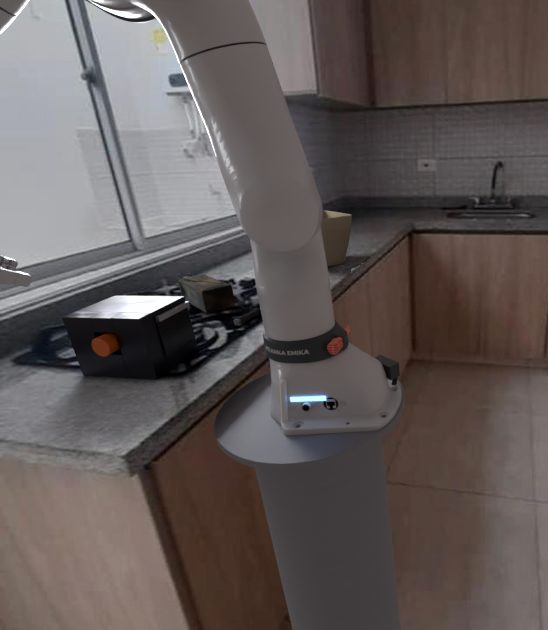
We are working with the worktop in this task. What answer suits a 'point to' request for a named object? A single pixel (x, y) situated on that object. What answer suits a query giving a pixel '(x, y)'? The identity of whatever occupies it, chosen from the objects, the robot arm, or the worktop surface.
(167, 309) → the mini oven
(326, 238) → the flower pot
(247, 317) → the knife
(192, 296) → the beverage carton
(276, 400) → the robot arm
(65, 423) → the worktop surface
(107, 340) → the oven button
